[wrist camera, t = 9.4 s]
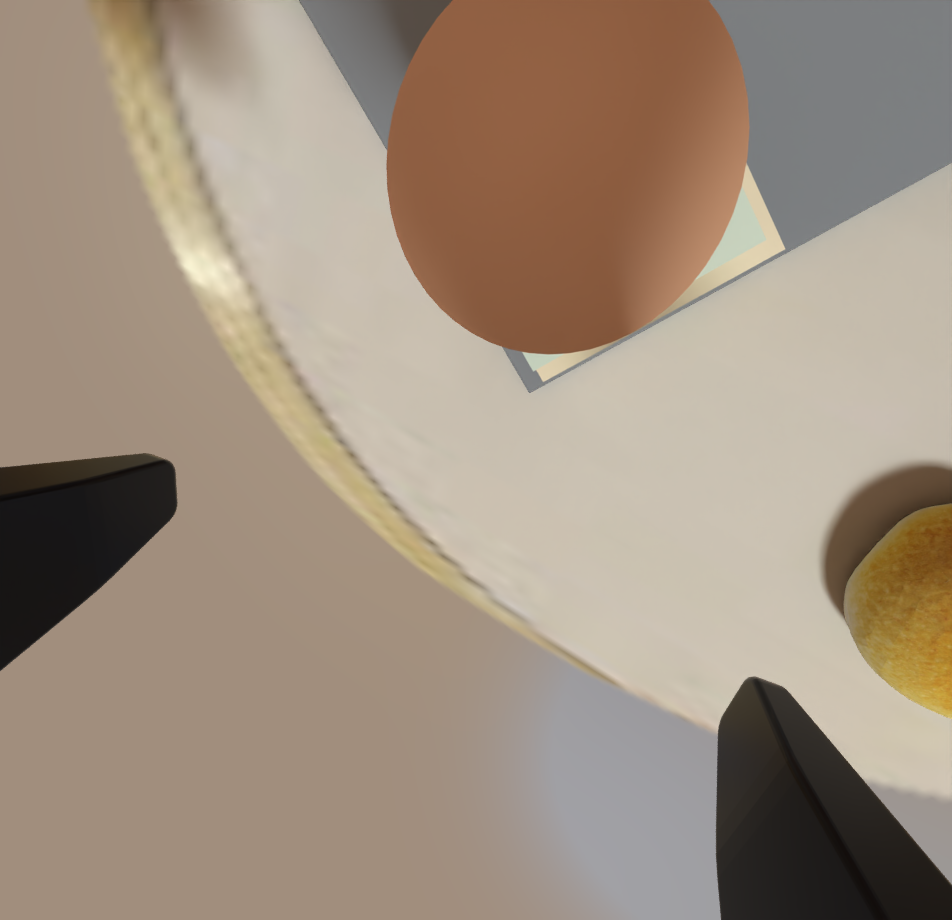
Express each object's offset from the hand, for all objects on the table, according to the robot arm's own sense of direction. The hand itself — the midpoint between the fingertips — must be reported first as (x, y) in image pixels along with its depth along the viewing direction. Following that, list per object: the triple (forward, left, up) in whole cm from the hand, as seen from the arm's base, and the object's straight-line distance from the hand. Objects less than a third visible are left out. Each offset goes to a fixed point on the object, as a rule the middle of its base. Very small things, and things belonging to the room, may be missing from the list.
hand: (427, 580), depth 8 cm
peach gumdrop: (-4, -4, -7) cm, 9 cm away
